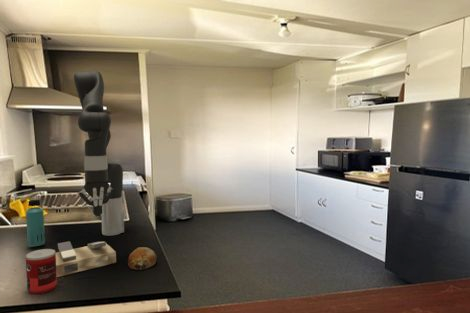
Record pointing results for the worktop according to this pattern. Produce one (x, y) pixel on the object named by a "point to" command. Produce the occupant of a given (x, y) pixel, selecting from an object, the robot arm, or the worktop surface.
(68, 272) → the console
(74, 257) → the switch
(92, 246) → the switch
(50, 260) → the canned food
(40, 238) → the beverage bottle
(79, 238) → the worktop surface
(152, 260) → the bread roll
